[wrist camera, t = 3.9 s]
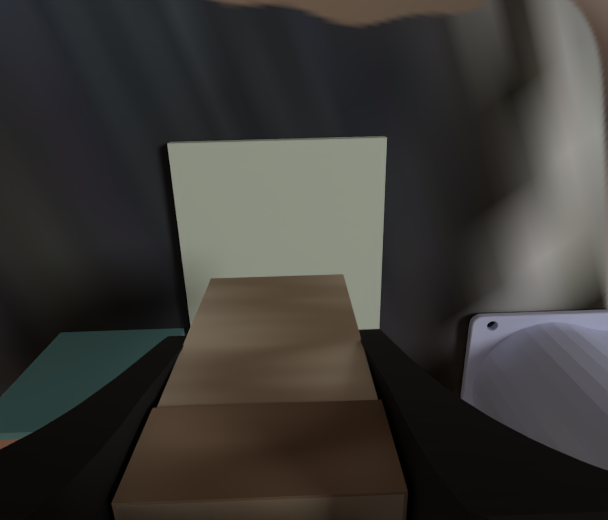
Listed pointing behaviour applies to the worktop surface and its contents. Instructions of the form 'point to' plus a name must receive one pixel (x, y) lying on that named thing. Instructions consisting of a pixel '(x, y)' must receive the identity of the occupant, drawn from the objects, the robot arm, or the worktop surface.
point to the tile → (70, 376)
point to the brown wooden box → (267, 414)
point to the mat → (282, 213)
